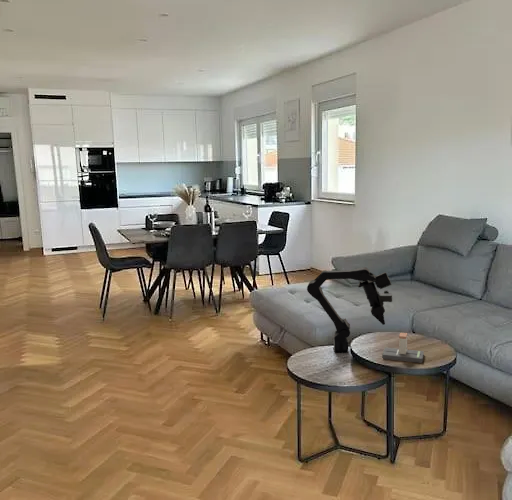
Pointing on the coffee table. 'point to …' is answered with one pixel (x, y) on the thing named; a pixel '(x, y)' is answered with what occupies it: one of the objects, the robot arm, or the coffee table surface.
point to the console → (403, 355)
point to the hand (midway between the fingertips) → (383, 321)
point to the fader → (402, 343)
